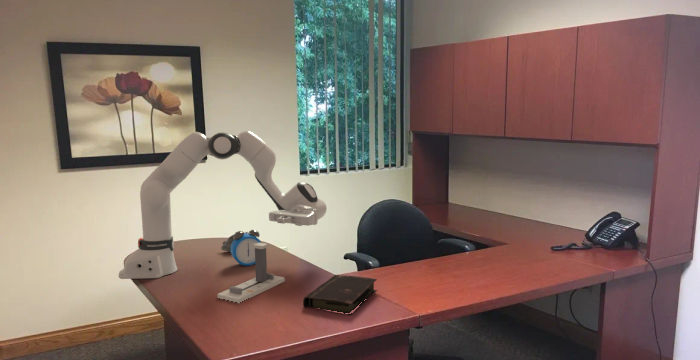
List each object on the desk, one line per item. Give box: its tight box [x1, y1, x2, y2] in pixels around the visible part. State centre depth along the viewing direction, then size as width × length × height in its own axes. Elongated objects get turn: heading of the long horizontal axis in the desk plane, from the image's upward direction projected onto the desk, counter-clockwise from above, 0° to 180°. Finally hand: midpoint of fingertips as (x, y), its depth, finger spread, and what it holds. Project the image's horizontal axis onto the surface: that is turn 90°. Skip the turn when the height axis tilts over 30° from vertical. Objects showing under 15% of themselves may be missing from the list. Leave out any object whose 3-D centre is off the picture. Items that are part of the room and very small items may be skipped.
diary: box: [302, 274, 378, 316], centre depth 175 cm, size 19×25×5 cm
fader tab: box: [253, 242, 269, 282], centre depth 188 cm, size 4×4×14 cm
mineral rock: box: [220, 230, 250, 253], centre depth 235 cm, size 13×11×10 cm
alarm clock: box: [230, 229, 263, 267], centre depth 214 cm, size 13×6×15 cm, turn 116°
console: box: [217, 272, 286, 304], centre depth 184 cm, size 26×10×4 cm, turn 150°
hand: (280, 221), depth 196 cm, fingers closed
